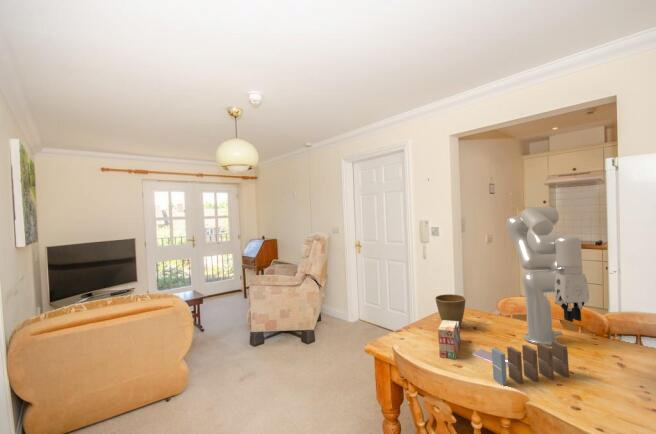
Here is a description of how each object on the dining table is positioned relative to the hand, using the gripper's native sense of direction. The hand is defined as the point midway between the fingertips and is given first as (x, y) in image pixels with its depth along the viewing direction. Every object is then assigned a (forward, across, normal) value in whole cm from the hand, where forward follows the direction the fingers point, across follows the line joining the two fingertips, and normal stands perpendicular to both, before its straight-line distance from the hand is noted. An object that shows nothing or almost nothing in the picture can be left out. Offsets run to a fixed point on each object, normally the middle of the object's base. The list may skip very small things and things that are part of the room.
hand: (572, 319), depth 116 cm
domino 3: (+19, -18, 0) cm, 26 cm away
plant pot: (+19, -19, +54) cm, 60 cm away
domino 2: (+19, -24, 0) cm, 31 cm away
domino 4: (+19, -12, 0) cm, 23 cm away
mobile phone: (+20, -21, +18) cm, 34 cm away
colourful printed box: (+20, -32, +31) cm, 49 cm away
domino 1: (+19, -30, 0) cm, 36 cm away
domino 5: (+19, -6, 0) cm, 20 cm away
